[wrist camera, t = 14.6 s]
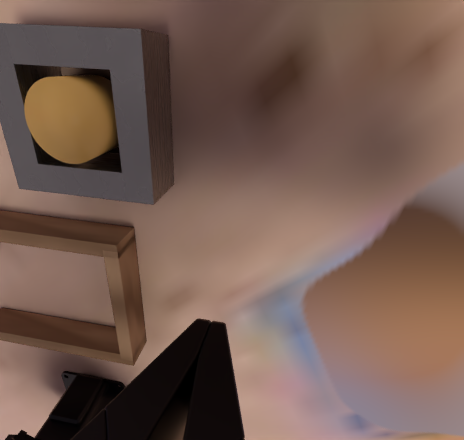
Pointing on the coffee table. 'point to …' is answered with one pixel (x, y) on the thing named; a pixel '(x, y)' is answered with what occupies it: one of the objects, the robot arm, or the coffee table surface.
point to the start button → (72, 117)
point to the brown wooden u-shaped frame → (119, 280)
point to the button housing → (125, 104)
